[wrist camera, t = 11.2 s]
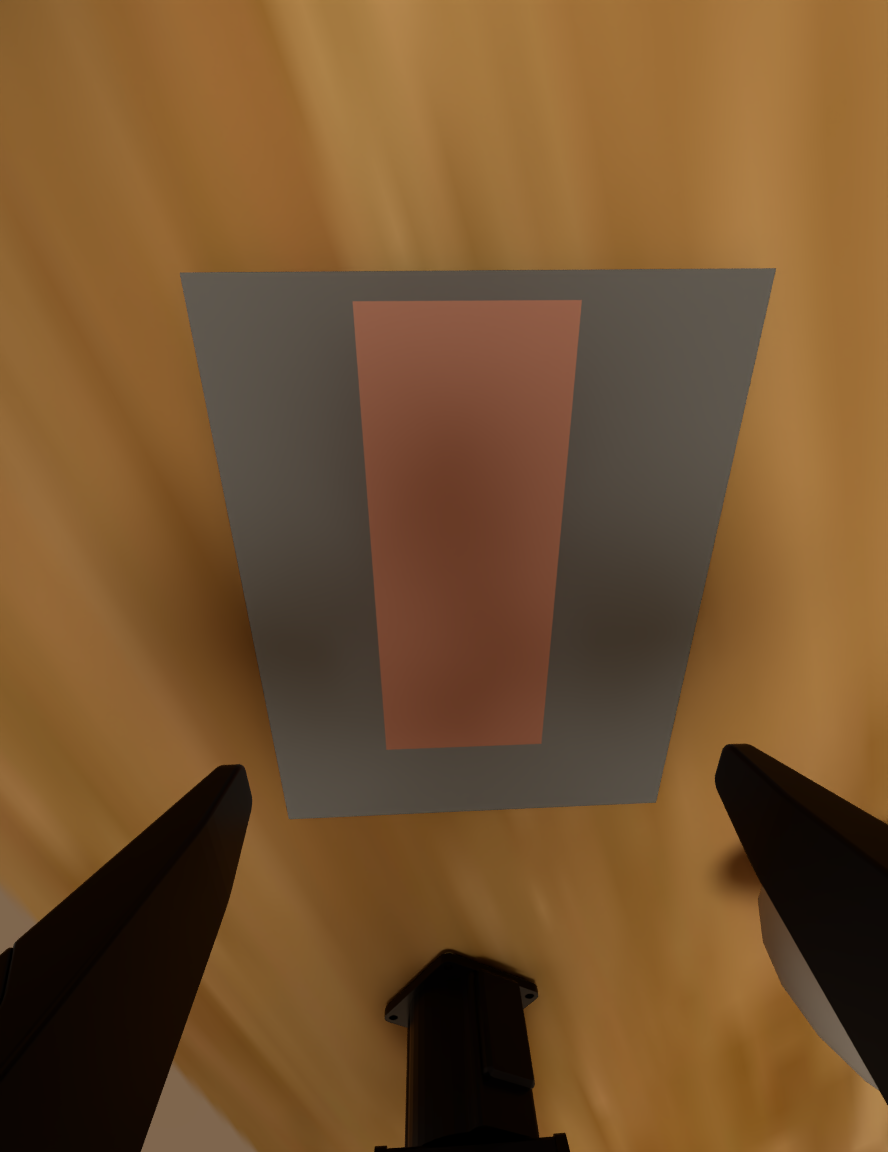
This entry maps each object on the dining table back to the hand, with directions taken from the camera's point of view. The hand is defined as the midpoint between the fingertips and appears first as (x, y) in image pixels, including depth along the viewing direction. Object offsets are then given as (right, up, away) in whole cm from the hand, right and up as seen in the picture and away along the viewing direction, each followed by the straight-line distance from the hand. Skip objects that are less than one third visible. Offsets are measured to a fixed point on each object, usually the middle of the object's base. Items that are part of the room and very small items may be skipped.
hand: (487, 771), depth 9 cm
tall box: (0, -1, +8) cm, 8 cm away
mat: (0, +3, +8) cm, 9 cm away
